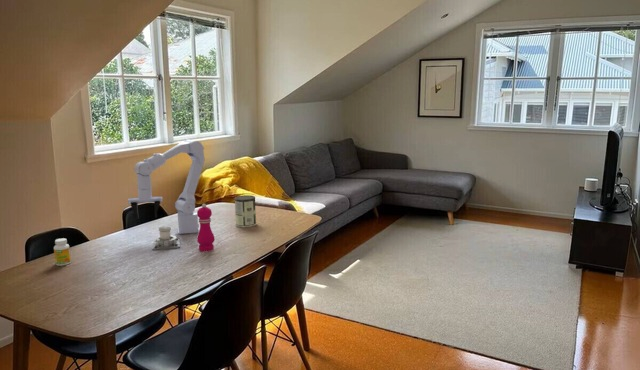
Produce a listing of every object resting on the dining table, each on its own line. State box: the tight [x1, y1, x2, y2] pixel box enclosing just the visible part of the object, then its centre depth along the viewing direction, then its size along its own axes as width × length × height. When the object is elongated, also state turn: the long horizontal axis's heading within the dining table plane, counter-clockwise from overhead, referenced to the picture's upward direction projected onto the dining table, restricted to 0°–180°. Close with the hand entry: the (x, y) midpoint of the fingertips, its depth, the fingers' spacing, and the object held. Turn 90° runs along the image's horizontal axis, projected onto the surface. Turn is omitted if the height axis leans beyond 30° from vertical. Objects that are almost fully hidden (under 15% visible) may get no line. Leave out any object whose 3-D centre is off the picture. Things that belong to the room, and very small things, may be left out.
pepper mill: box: [196, 203, 216, 252], centre depth 205 cm, size 7×7×20 cm
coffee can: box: [234, 194, 257, 228], centre depth 243 cm, size 10×10×14 cm
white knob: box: [158, 225, 172, 240], centre depth 211 cm, size 5×5×7 cm
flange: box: [152, 234, 181, 251], centre depth 212 cm, size 11×11×3 cm
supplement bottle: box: [53, 237, 72, 266], centre depth 189 cm, size 5×5×10 cm
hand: (146, 218), depth 219 cm, fingers open, 7 cm apart
